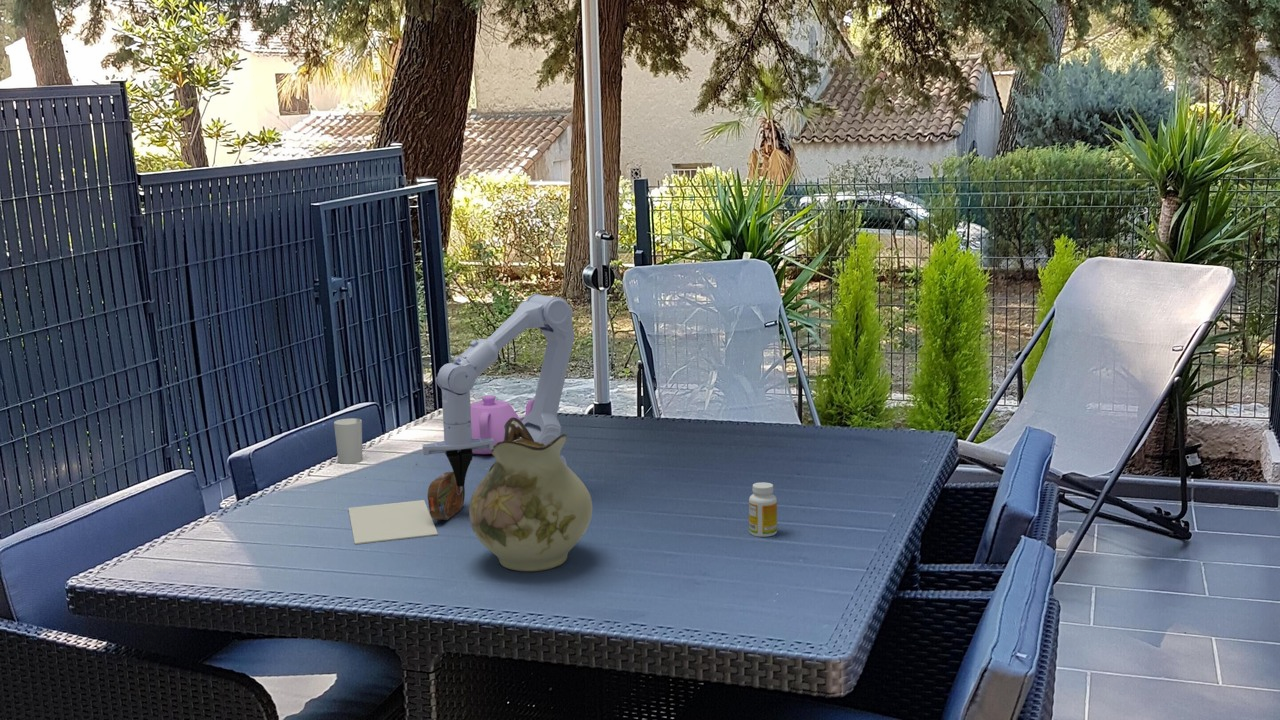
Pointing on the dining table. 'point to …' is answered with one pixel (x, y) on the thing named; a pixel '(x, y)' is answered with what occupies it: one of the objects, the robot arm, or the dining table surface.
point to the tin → (445, 497)
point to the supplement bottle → (763, 510)
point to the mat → (391, 522)
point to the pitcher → (529, 503)
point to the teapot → (492, 419)
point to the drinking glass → (349, 440)
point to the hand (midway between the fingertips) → (460, 485)
